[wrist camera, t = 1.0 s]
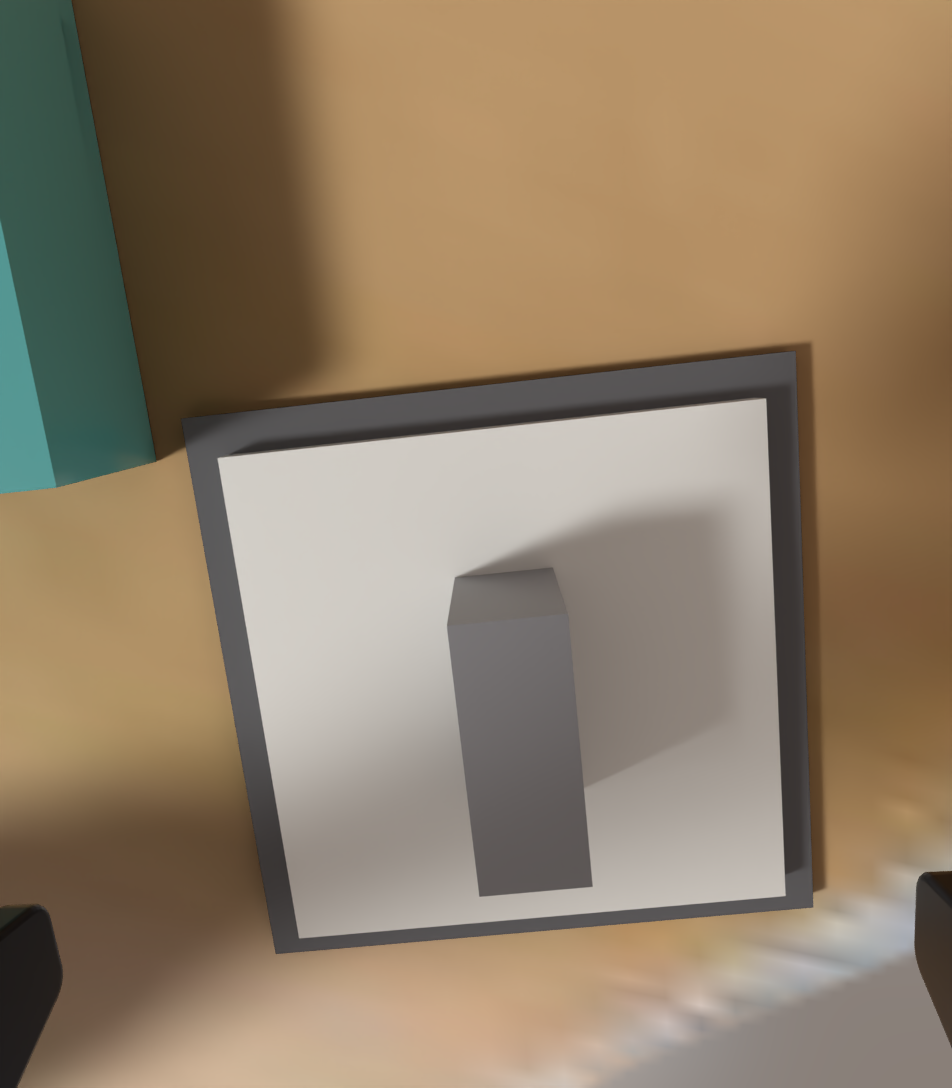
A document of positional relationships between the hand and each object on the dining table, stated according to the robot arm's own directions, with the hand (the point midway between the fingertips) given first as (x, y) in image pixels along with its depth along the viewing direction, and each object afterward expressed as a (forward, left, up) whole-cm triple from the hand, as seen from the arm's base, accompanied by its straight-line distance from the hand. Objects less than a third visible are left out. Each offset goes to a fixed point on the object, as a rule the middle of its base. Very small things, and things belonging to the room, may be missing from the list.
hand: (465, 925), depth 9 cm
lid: (-2, -1, -13) cm, 13 cm away
